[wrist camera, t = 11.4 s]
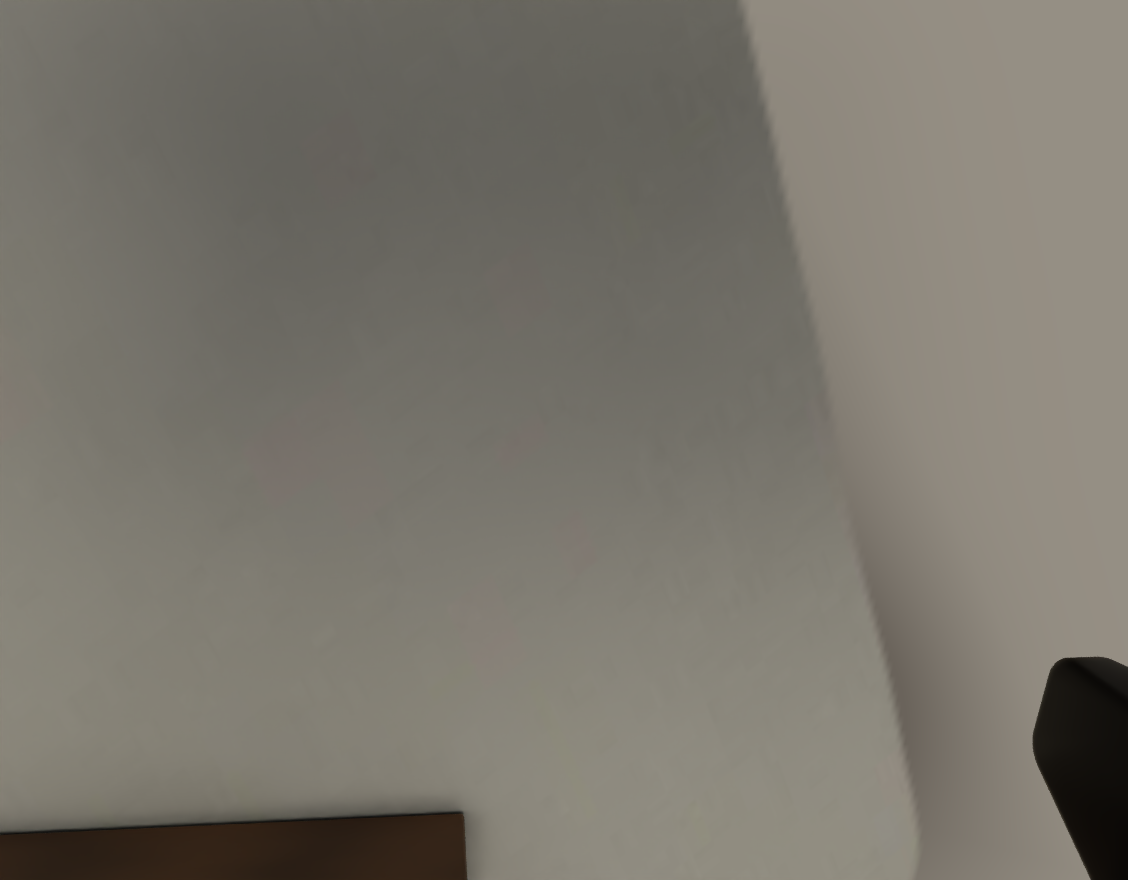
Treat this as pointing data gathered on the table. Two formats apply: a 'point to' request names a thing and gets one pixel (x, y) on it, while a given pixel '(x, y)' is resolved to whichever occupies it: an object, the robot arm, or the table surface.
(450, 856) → the wooden tray
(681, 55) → the table surface
